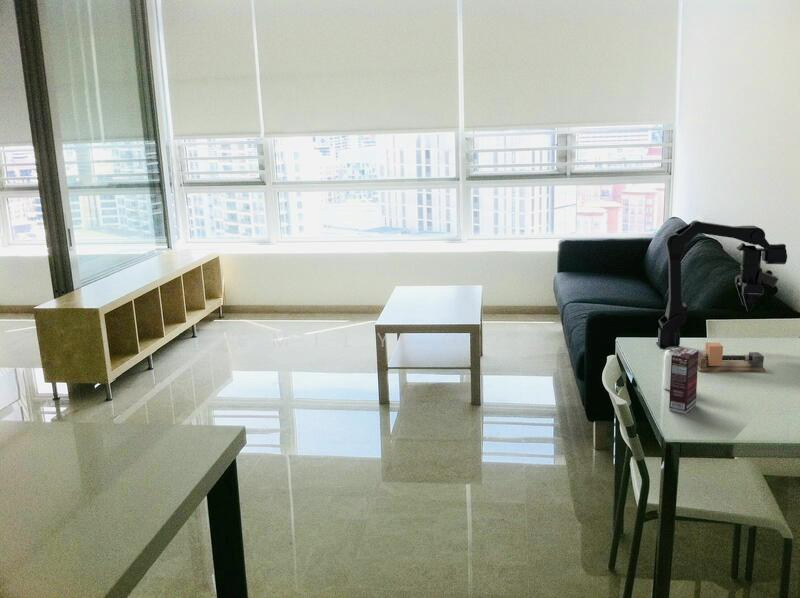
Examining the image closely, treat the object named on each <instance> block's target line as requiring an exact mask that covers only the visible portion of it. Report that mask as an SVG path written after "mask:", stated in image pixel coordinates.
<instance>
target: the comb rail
mask: <svg viewBox="0 0 800 598" xmlns="http://www.w3.org/2000/svg"><path fill="white" fill-rule="evenodd" d="M764 359H765V356H764V355H763V354H762V353H761V352H759V351H750V352H748V354H743V355H742V354H741V355H735V354H734V355H732V354H731V355H728V354H727V355H724V354H723V355H722V366H708V365H707V364H706V360H708V355H705V354H702V353H701V352H700V351H698V370H697V372H699V373H766V371H767V369H765V368H764V362H765V361H764Z"/></svg>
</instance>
